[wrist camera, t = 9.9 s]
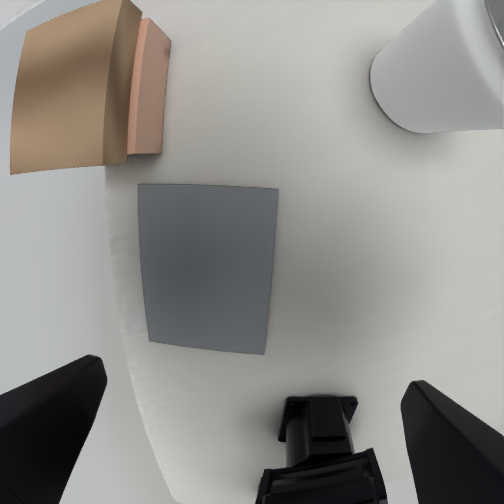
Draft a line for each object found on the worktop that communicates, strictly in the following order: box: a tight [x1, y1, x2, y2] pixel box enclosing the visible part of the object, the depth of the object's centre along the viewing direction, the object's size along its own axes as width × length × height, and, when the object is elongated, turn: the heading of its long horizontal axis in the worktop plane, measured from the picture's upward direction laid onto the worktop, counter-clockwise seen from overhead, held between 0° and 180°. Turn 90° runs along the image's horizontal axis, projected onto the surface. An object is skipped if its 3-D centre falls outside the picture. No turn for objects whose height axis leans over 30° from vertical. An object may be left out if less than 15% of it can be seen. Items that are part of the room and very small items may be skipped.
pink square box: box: [127, 18, 171, 155], centre depth 15 cm, size 8×8×4 cm
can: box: [370, 0, 504, 133], centre depth 9 cm, size 6×6×12 cm
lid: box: [10, 0, 142, 175], centre depth 11 cm, size 9×7×2 cm
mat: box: [138, 184, 278, 355], centre depth 20 cm, size 12×9×1 cm
